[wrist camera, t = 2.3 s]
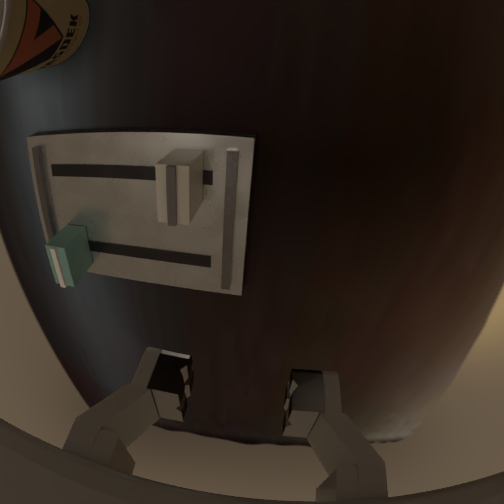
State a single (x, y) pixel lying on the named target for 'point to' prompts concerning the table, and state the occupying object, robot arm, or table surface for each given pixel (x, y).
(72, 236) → the fader
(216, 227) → the console
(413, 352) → the table surface
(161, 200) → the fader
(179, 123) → the table surface
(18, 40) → the coffee cup
